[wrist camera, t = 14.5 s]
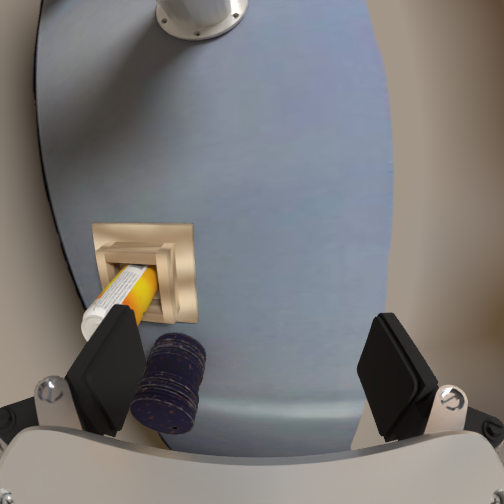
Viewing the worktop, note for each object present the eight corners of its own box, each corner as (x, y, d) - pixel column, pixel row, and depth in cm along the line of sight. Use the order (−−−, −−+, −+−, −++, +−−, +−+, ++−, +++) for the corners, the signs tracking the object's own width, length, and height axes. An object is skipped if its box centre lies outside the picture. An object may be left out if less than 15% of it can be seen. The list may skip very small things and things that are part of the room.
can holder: (94, 222, 37) (77, 233, 33) (193, 223, 38) (185, 235, 33) (111, 311, 44) (99, 327, 39) (198, 319, 44) (193, 339, 39)
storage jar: (143, 344, 46) (116, 405, 32) (181, 323, 44) (158, 391, 30) (179, 377, 49) (163, 438, 36) (218, 360, 47) (208, 428, 33)
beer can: (128, 289, 41) (86, 351, 27) (124, 254, 38) (72, 309, 24) (163, 294, 41) (130, 361, 27) (161, 257, 39) (120, 318, 25)
